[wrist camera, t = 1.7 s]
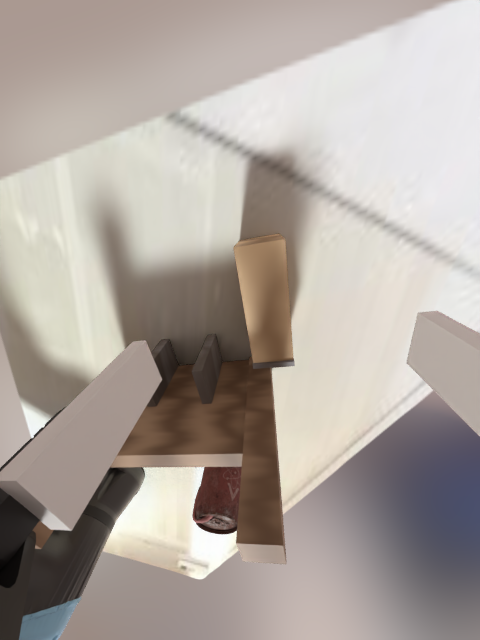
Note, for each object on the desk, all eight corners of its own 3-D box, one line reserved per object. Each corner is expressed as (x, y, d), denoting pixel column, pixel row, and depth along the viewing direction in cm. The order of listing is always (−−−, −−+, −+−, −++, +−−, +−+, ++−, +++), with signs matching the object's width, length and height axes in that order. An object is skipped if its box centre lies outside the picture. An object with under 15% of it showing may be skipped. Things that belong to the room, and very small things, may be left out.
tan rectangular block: (254, 338, 30) (253, 369, 24) (239, 240, 24) (232, 248, 18) (287, 334, 29) (294, 365, 23) (279, 233, 23) (286, 239, 17)
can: (211, 413, 38) (186, 511, 25) (246, 415, 37) (239, 516, 24) (214, 435, 40) (194, 534, 28) (247, 437, 40) (241, 538, 27)
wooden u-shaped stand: (136, 381, 36) (11, 547, 18) (118, 344, 32) (-57, 501, 14) (271, 371, 32) (286, 564, 14) (266, 328, 29) (276, 509, 11)
